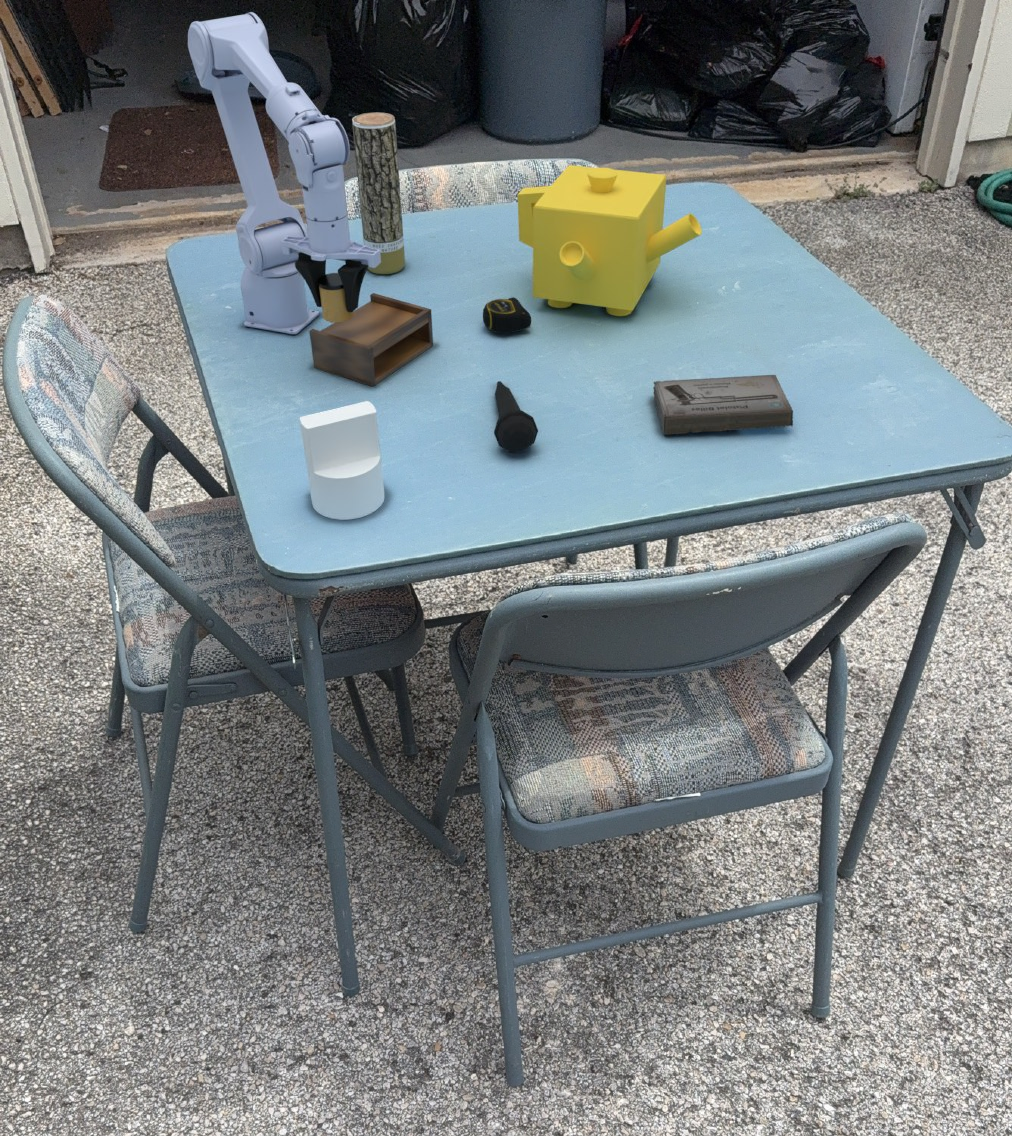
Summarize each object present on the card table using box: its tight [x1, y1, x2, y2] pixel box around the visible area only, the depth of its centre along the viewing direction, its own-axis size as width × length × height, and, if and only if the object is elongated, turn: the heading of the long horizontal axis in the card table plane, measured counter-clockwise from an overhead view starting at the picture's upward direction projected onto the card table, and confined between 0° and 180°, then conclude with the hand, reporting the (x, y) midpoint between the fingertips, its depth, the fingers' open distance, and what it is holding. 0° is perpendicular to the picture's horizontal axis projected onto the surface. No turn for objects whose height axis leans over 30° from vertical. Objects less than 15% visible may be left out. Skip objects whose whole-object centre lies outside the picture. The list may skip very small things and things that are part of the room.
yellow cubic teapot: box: [517, 164, 703, 317], centre depth 180 cm, size 35×29×20 cm
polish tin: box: [318, 272, 353, 323], centre depth 162 cm, size 5×5×6 cm
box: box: [652, 374, 794, 436], centre depth 154 cm, size 11×17×3 cm, turn 92°
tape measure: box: [482, 296, 532, 334], centre depth 176 cm, size 7×7×4 cm
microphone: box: [493, 380, 539, 453], centre depth 154 cm, size 6×6×20 cm
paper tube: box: [351, 112, 406, 275], centre depth 188 cm, size 7×7×25 cm
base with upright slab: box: [299, 400, 385, 521], centre depth 137 cm, size 9×9×12 cm
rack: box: [308, 292, 434, 388], centre depth 169 cm, size 11×15×6 cm
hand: (337, 306), depth 163 cm, fingers closed on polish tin, 4 cm apart
